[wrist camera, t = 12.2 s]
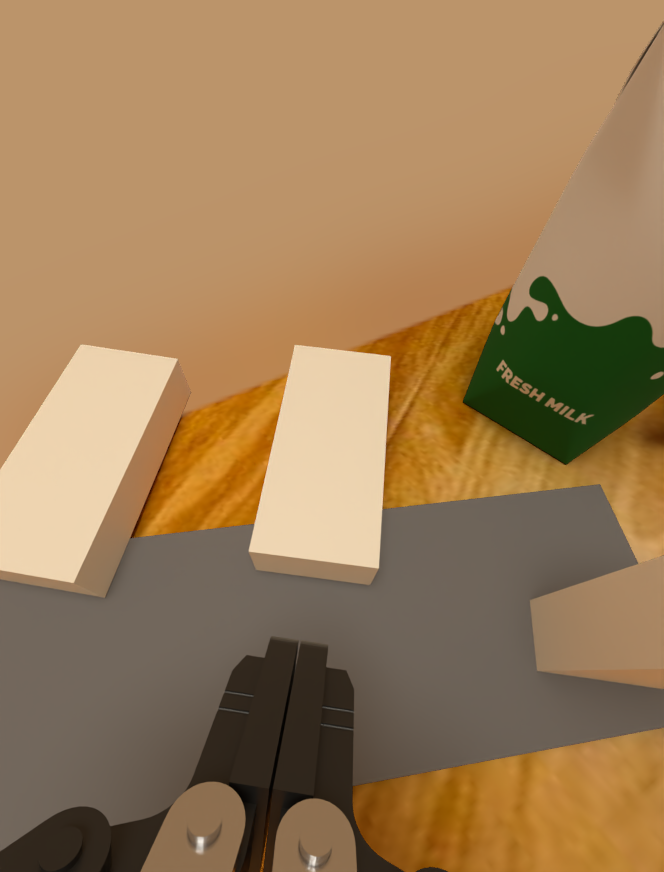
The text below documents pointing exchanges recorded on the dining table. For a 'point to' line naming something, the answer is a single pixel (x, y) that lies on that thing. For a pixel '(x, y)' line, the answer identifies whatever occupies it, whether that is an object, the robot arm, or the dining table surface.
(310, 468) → the tile
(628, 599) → the tile
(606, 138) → the milk carton
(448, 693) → the mat
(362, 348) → the dining table surface
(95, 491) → the tile
